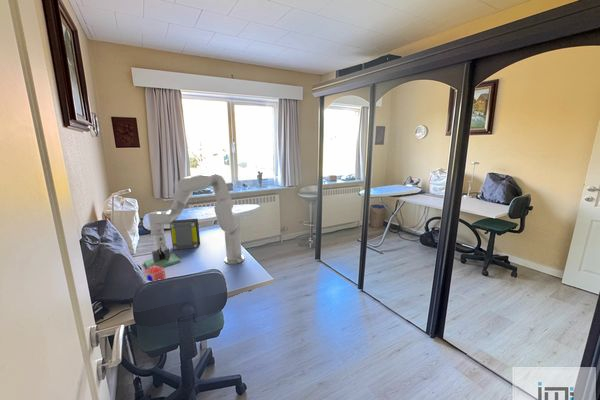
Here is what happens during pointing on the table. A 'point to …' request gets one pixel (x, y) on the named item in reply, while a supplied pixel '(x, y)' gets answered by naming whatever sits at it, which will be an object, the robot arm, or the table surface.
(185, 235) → the electrical component
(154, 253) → the block
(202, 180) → the robot arm
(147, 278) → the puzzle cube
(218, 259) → the table surface
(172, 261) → the header board
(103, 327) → the table surface
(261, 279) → the table surface
